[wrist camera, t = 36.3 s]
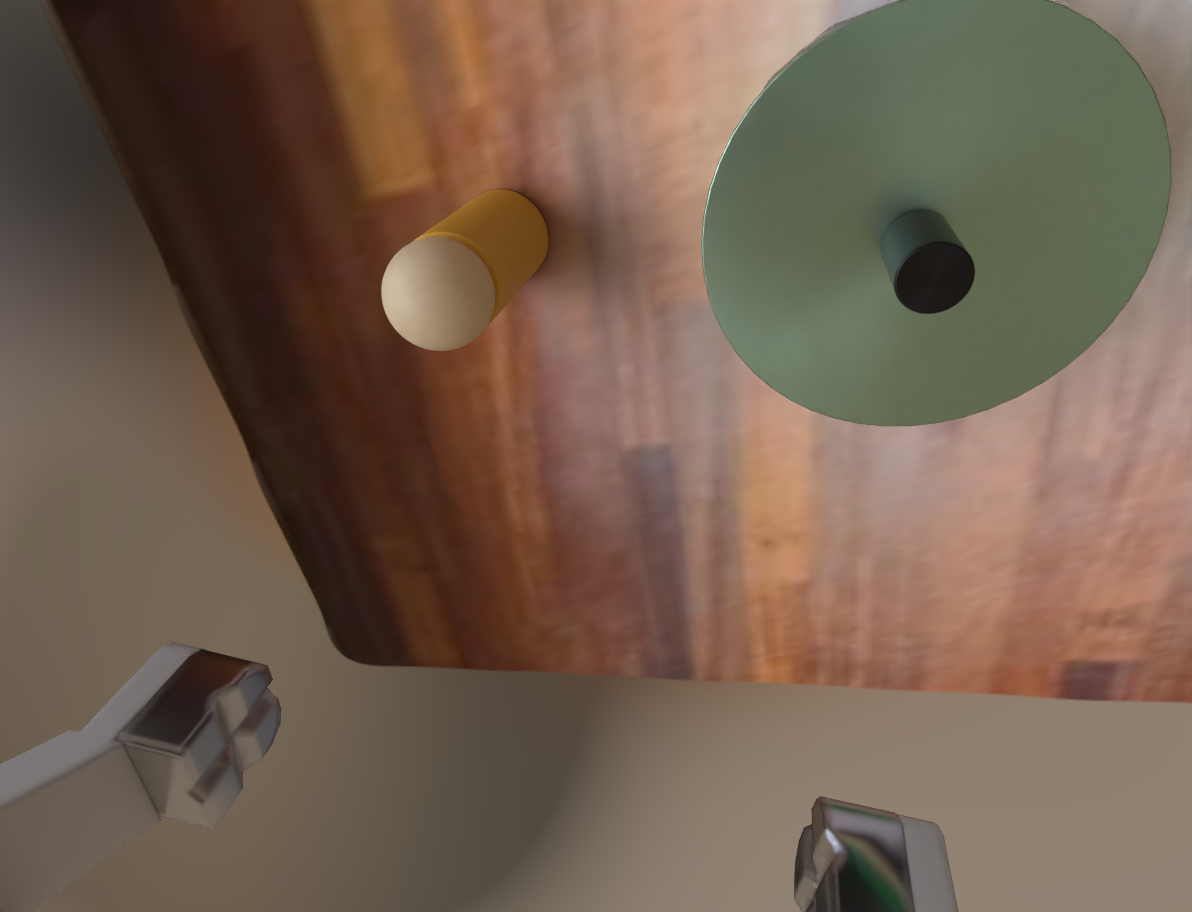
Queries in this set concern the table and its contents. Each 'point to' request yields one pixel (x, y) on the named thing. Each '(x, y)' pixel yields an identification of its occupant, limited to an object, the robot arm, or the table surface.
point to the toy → (464, 270)
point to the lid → (936, 208)
